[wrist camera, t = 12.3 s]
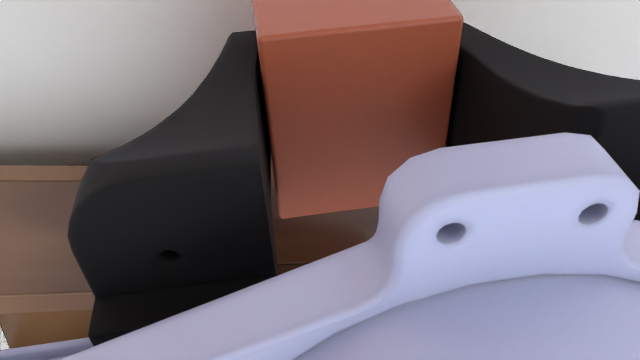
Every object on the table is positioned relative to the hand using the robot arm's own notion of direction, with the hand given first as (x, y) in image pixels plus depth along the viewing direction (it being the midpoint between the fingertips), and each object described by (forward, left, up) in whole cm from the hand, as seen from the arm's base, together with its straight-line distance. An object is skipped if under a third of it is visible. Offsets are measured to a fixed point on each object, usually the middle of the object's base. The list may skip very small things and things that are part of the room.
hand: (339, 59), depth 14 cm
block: (0, 0, -1) cm, 1 cm away
